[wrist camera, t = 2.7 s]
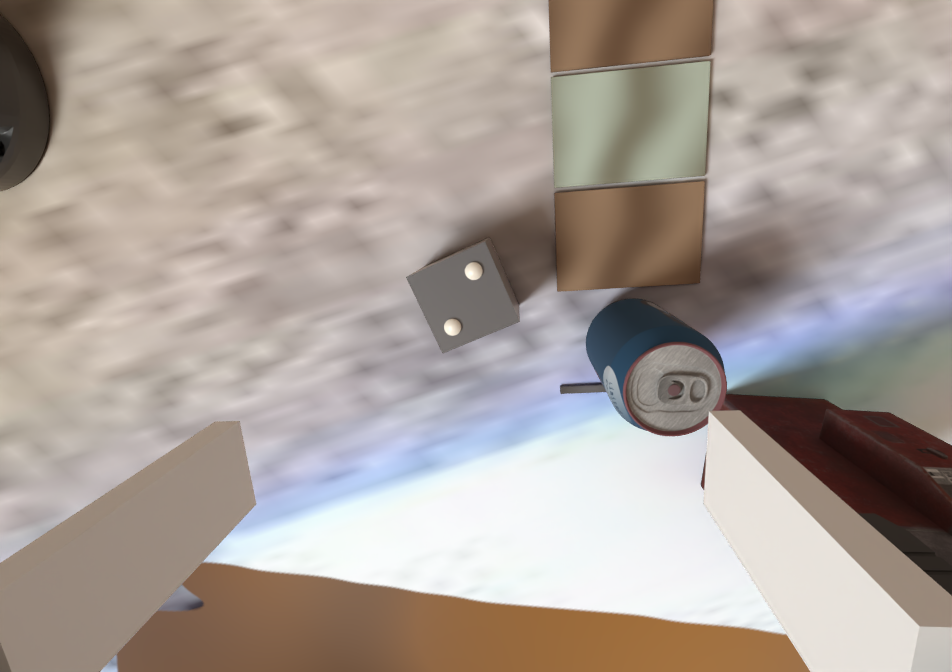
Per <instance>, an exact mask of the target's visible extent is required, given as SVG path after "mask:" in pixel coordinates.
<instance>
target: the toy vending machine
mask: <svg viewBox="0 0 952 672" xmlns="http://www.w3.org/2000/svg"><path fill="white" fill-rule="evenodd" d="M734 410H740V411H741V412H742V413H743V414H744V415H746V416H747V417H748V418H749V419H750V420H751V421H752V422H754V423H755V424H756V425H757V426H758V427H759V428H760V429H762V430H763V431H764V432H765V433H766V434H767V435H768V436H770V437H771V438H772V439H773V440H774V441H775V442H776V443H778V444H779V445H780V446H781V447H782V448H783V449H784V450H786V451H787V452H788V453H789V454H790V455H791V456H792V457H794V458H795V459H796V460H797V461H798V462H799V463H800V464H802V465H803V466H804V467H805V468H806V469H807V470H808V471H810V472H811V473H812V474H813V475H814V476H815V477H816V478H818V479H819V480H820V481H821V482H822V483H823V484H824V485H826V486H827V487H828V488H829V489H830V490H831V491H832V492H834V493H835V494H836V495H837V496H838V497H839V498H840V499H842V500H843V501H844V502H845V503H846V504H847V505H848V506H850V507H851V508H852V509H853V510H854V511H855V512H856V513H875V514H877V515H879V516H881V517H883V518H885V519H886V520H888V521H890V522H892V523H894V524H896V525H898V526H900V527H902V528H904V529H906V530H907V531H909V532H910V533H912V534H913V535H914V536H915V537H916V538H918V539H919V540H920V541H921V542H923V543H924V544H925V545H926V546H928V547H929V548H930V549H931V550H933V551H934V552H935V555H936V556H937V557H941V558H943V559H944V560H945V561H946V562H948V563H949V564H950V565H951V566H952V445H950V444H948V443H946V442H944V441H942V440H940V439H938V438H937V437H935V436H933V435H931V434H929V433H927V432H925V431H923V430H921V429H920V428H918V427H916V426H914V425H912V424H910V423H908V422H906V421H904V420H903V419H901V418H899V417H897V416H895V415H893V414H891V413H889V412H872V411H854V410H842V409H840V408H839V407H837V406H835V405H834V404H832V403H830V402H829V401H827V400H825V399H809V398H790V397H771V396H753V395H734V394H726V397H725V400H724V403H723V405H722V407H721V409H720V411H734ZM705 469H706V457H705V463H704V469H703V475H702V481H701V487H702V488H703V490H704V486H705Z"/></svg>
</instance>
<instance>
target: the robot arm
mask: <svg viewBox="0 0 952 672" xmlns="http://www.w3.org/2000/svg"><path fill="white" fill-rule="evenodd" d="M48 130H49V108H48V100H47V94H46V90H45V86H44V83H43V79H42V76H41V74H40V71H39V69H38V66H37V64H36V62H35V60H34V58H33V56H32V54H31V52H30V50H29V49H28V47H27V46H26V44H25V42H24V41H23V39H22V38H21V37H20V35H19V34H18V33H17V32H16V30H15V29H14V28H13V27H12V26H11V25H10V23H9V22H8V21H7V20H6V19H5V18H4V17H3V16H1V15H0V191H3V190H6V189H9V188H11V187H13V186H15V185H17V184H19V183H20V182H21V181H23V180H24V179H25V178H26V177H27V176H28V175H29V174H30V173H31V172H32V171H33V170H34V168H35V167H36V165H37V164H38V162H39V160H40V158H41V156H42V154H43V151H44V149H45V145H46V141H47V137H48ZM703 504H704V506H705V507H706V509H707V510H708V512H709V513H710V515H711V516H712V518H713V520H714V521H715V523H716V524H717V526H718V527H719V529H720V531H721V532H722V534H723V535H724V537H725V538H726V540H727V542H728V543H729V545H730V546H731V548H732V549H733V551H734V552H735V554H736V556H737V557H738V559H739V560H740V562H741V563H742V565H743V567H744V568H745V570H746V571H747V573H748V574H749V576H750V577H751V579H752V581H753V582H754V584H755V585H756V587H757V588H758V590H759V592H760V593H761V595H762V596H763V598H764V599H765V601H766V603H767V604H768V606H769V607H770V609H771V610H772V612H773V613H774V615H775V617H776V618H777V620H778V621H779V623H780V624H781V626H782V628H783V629H784V631H785V632H786V634H787V635H788V637H789V639H790V640H791V642H792V643H793V645H794V646H795V648H796V649H797V651H798V652H799V654H800V656H801V657H802V659H803V660H804V662H805V664H806V665H807V667H808V668H809V670H810V671H811V672H952V566H951V565H950V564H949V563H948V562H946V561H945V560H944V559H943V558H941V557H937V556H936V555H935V552H934V551H933V550H931V549H930V548H929V547H928V546H926V545H925V544H924V543H923V542H921V541H920V540H919V539H918V538H916V537H915V536H914V535H913V534H912V533H910V532H909V531H907V530H906V529H904V528H902V527H900V526H898V525H896V524H894V523H892V522H890V521H888V520H886V519H885V518H883V517H881V516H879V515H877V514H875V513H856V512H855V511H854V510H853V509H852V508H851V507H850V506H848V505H847V504H846V503H845V502H844V501H843V500H842V499H840V498H839V497H838V496H837V495H836V494H835V493H834V492H832V491H831V490H830V489H829V488H828V487H827V486H826V485H824V484H823V483H822V482H821V481H820V480H819V479H818V478H816V477H815V476H814V475H813V474H812V473H811V472H810V471H808V470H807V469H806V468H805V467H804V466H803V465H802V464H800V463H799V462H798V461H797V460H796V459H795V458H794V457H792V456H791V455H790V454H789V453H788V452H787V451H786V450H784V449H783V448H782V447H781V446H780V445H779V444H778V443H776V442H775V441H774V440H773V439H772V438H771V437H770V436H768V435H767V434H766V433H765V432H764V431H763V430H762V429H760V428H759V427H758V426H757V425H756V424H755V423H754V422H752V421H751V420H750V419H749V418H748V417H747V416H746V415H744V414H743V413H742V412H741V411H740V410H734V411H709V418H708V435H707V452H706V469H705V486H704V503H703ZM255 505H256V500H255V495H254V490H253V486H252V481H251V476H250V471H249V466H248V461H247V456H246V451H245V446H244V441H243V436H242V431H241V426H240V421H226V422H214V423H212V424H211V425H209V426H208V427H206V428H205V429H203V430H202V431H200V432H199V433H197V434H196V435H194V436H193V437H191V438H190V439H188V440H187V441H185V442H184V443H182V444H181V445H179V446H178V447H176V448H174V449H173V450H171V451H170V452H168V453H167V454H165V455H164V456H162V457H161V458H159V459H158V460H156V461H155V462H153V463H152V464H150V465H149V466H147V467H146V468H144V469H143V470H141V471H140V472H138V473H136V474H135V475H133V476H132V477H130V478H129V479H127V480H126V481H124V482H123V483H121V484H120V485H118V486H117V487H115V488H114V489H112V490H111V491H109V492H108V493H106V494H105V495H103V496H102V497H100V498H98V499H97V500H95V501H94V502H92V503H91V504H89V505H88V506H86V507H85V508H83V509H82V510H80V511H79V512H77V513H76V514H74V515H73V516H71V517H70V518H68V519H67V520H65V521H64V522H62V523H60V524H59V525H57V526H56V527H54V528H53V529H51V530H50V531H48V532H47V533H45V534H44V535H42V536H41V537H39V538H38V539H36V540H35V541H33V542H32V543H30V544H29V545H27V546H26V547H24V548H23V549H21V550H19V551H18V552H16V553H15V554H13V555H12V556H10V557H9V558H7V559H6V560H4V561H3V562H1V563H0V672H100V671H101V670H102V669H103V668H104V667H105V666H106V665H107V663H108V662H109V661H110V660H111V659H112V658H113V657H114V656H115V655H116V654H117V653H118V652H119V651H120V650H121V649H122V647H123V646H124V645H125V644H126V643H127V642H128V641H129V640H130V639H131V638H132V637H133V636H134V635H135V634H136V632H137V631H138V630H139V629H140V628H141V627H142V626H143V625H144V624H145V623H146V622H147V621H148V619H149V618H150V617H151V616H152V615H153V614H154V613H155V612H156V611H157V610H158V609H159V608H160V607H161V606H162V605H163V604H164V602H165V601H166V600H167V599H168V598H169V597H170V596H171V595H172V594H173V593H174V592H175V591H176V590H177V589H178V587H179V586H180V585H181V584H182V583H183V582H184V581H185V580H186V579H187V578H188V577H189V576H190V575H191V573H193V571H194V570H195V569H196V568H197V567H198V566H199V565H200V564H201V563H202V562H203V561H204V560H205V559H206V558H207V556H208V555H209V554H210V553H211V552H212V551H213V550H214V549H215V548H216V547H217V546H218V545H219V544H220V543H221V541H222V540H223V539H224V538H225V537H226V536H227V535H228V534H229V533H230V532H231V531H232V530H233V529H234V528H235V526H236V525H237V524H238V523H239V522H240V521H241V520H242V519H243V518H244V517H245V516H246V515H247V514H248V513H249V511H250V510H251V509H252V508H253V507H254V506H255Z"/></svg>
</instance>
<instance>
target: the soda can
mask: <svg viewBox="0 0 952 672" xmlns="http://www.w3.org/2000/svg"><path fill="white" fill-rule="evenodd" d="M586 350H587V354H588V357H589V359H590V362H591V363H592V365H593V367H594V369H595V371H596V373H597V375H598V377H599V379H600V381H601V383H602V385H603V386H604V388H605V390H606V392H607V394H608V396H609V398H610V400H611V402H612V404H613V406H614V407H615V409H616V410H617V412H618V413H619V414H620V415H621V416H622V417H623V418H624V419H625V420H626V421H628V422H629V423H631V424H632V425H634V426H636V427H638V428H640V429H643V430H646V431H649V432H651V433H654V434H657V435H662V436H681V435H686V434H689V433H692V432H695V431H697V430H699V429H701V428H702V427H704V426H705V425H707V424H708V418H709V411H720V409H721V407H722V405H723V403H724V400H725V397H726V391H727V381H726V376H725V371H724V365H723V361H722V358H721V356H720V354H719V352H718V350H717V349H716V347H715V346H714V345H713V343H712V342H711V341H710V340H709V339H707V338H706V337H705V336H704V335H702V334H700V333H699V332H697V331H696V330H694V329H693V328H691V327H690V326H688V325H687V324H685V323H684V322H682V321H680V320H679V319H677V318H676V317H674V316H673V315H671V314H670V313H668V312H667V311H665V310H664V309H662V308H660V307H659V306H657V305H656V304H654V303H652V302H649V301H646V300H642V299H625V300H620V301H617V302H615V303H612V304H610V305H609V306H607V307H606V308H604V309H603V310H602V311H601V312H599V313H598V315H597V316H596V317H595V318H594V320H593V321H592V323H591V325H590V327H589V329H588V332H587V337H586Z"/></svg>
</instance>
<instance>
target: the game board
mask: <svg viewBox="0 0 952 672" xmlns="http://www.w3.org/2000/svg"><path fill="white" fill-rule="evenodd" d="M712 18H713V0H549V28H550V62H551V72H560V71H570V70H579V69H589V68H598V67H608V66H618V65H627V64H637V63H646V62H656V61H665V60H675V59H684V58H694V57H704V56H710V55H711V39H712ZM709 81H710V61H705V62H695V63H685V64H676V65H666V66H657V67H647V68H637V69H628V70H618V71H608V72H599V73H589V74H579V75H570V76H560V77H551V95H552V129H553V163H554V188H559V187H571V186H584V185H596V184H608V183H621V182H633V181H645V180H658V179H670V178H683V177H695V176H705V164H706V144H707V123H708V102H709ZM704 185H705V181H701V182H688V183H676V184H663V185H650V186H638V187H625V188H613V189H600V190H588V191H575V192H563V193H554V196H555V230H556V264H557V291H558V292H559V291H575V290H592V289H609V288H626V287H643V286H660V285H677V284H693V283H700V269H701V248H702V227H703V206H704ZM591 392H606V390H605V388H604V386H603V385H602V384H593V385H568V386H560V393H561V394H565V393H591Z"/></svg>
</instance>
